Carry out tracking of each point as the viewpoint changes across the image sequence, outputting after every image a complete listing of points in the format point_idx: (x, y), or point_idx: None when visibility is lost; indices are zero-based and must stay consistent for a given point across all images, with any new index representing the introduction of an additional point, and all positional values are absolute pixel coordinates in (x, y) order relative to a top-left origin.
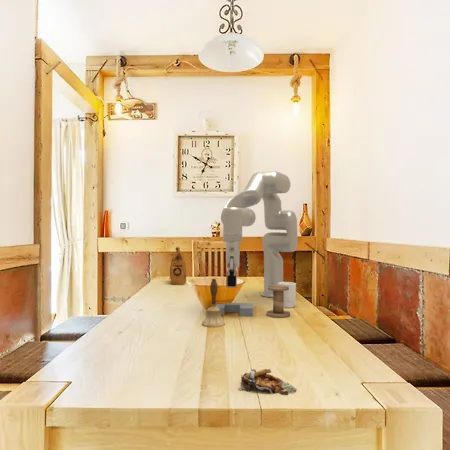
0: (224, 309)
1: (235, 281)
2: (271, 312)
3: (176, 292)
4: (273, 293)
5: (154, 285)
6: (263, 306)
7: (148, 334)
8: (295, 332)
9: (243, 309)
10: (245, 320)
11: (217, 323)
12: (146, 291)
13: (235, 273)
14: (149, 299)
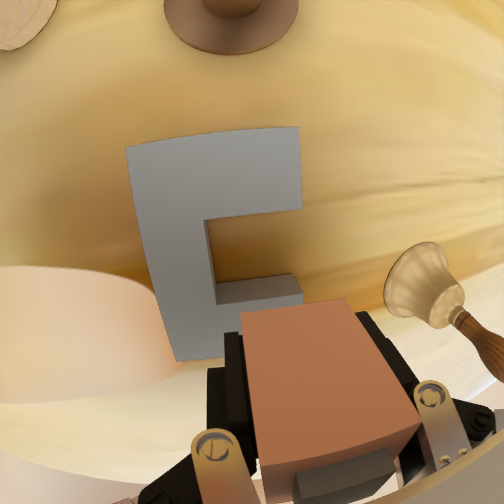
0: (271, 289)
1: (384, 341)
2: (241, 27)
3: (15, 427)
4: None
5: (2, 448)
6: (32, 113)
7: (454, 368)
8: (471, 26)
9: (299, 184)
10: (374, 164)
11: (447, 265)
12: (53, 465)
13: (408, 414)
14: (119, 468)
